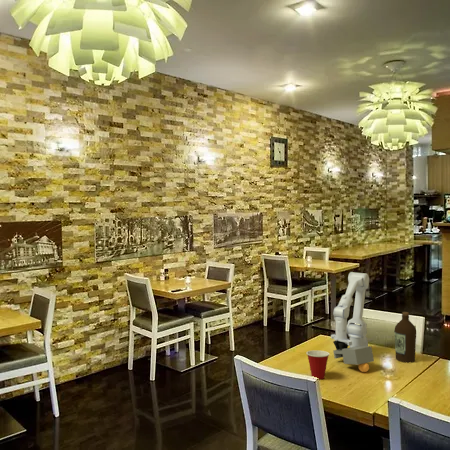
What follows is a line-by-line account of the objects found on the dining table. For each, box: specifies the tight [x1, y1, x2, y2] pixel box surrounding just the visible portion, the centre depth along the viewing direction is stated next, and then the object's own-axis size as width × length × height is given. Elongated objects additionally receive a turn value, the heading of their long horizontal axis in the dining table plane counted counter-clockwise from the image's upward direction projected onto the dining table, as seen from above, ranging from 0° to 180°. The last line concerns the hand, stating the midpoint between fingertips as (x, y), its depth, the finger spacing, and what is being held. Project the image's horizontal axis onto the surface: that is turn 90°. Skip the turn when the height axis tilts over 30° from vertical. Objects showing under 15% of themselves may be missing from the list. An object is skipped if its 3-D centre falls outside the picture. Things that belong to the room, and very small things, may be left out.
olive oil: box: [393, 311, 417, 364], centre depth 230 cm, size 11×11×25 cm
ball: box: [357, 362, 370, 373], centre depth 215 cm, size 5×5×5 cm
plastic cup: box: [305, 349, 330, 381], centre depth 208 cm, size 11×11×12 cm
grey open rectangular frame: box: [333, 345, 375, 366], centre depth 222 cm, size 10×19×7 cm, turn 24°
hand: (341, 355), depth 230 cm, fingers closed on grey open rectangular frame, 2 cm apart
